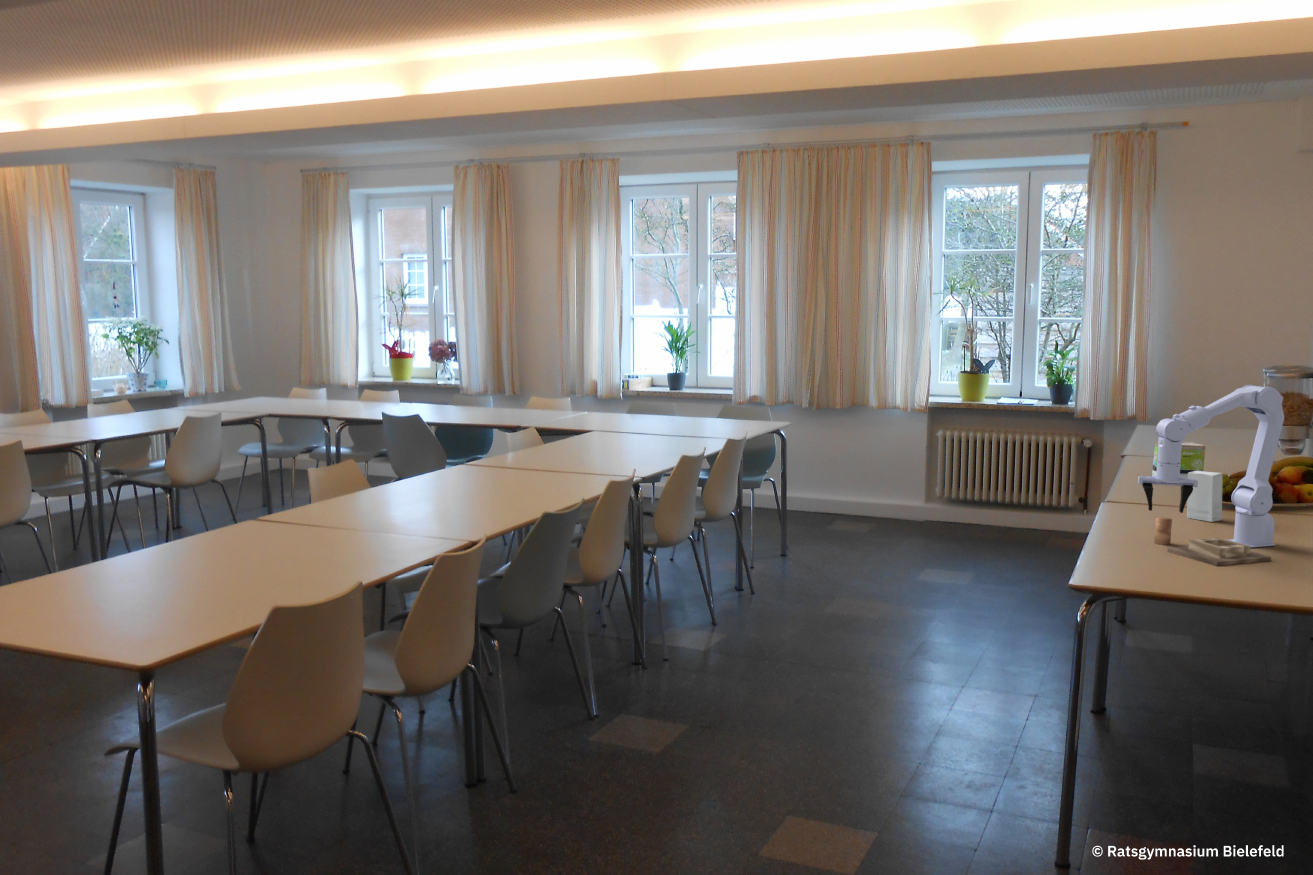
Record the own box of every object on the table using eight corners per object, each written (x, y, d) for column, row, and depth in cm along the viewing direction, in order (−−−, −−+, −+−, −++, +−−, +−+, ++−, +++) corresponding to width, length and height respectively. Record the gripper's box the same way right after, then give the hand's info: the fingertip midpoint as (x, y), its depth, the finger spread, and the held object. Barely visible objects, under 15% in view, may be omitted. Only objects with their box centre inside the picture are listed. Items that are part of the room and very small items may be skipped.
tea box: (1160, 482, 375) (1162, 443, 373) (1151, 478, 385) (1154, 440, 383) (1203, 484, 373) (1206, 444, 371) (1193, 479, 383) (1196, 441, 381)
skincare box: (1221, 520, 309) (1225, 473, 307) (1211, 522, 306) (1214, 474, 304) (1194, 515, 316) (1198, 469, 314) (1184, 517, 313) (1187, 471, 311)
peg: (1162, 541, 281) (1164, 516, 281) (1173, 544, 278) (1175, 519, 277) (1151, 542, 280) (1152, 517, 279) (1162, 545, 277) (1163, 520, 276)
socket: (1219, 546, 275) (1220, 534, 275) (1271, 560, 260) (1272, 547, 259) (1167, 551, 270) (1168, 538, 269) (1216, 565, 255) (1217, 552, 254)
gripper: (1196, 461, 276) (1192, 510, 278) (1138, 459, 281) (1135, 506, 283) (1200, 465, 269) (1196, 514, 271) (1140, 462, 274) (1137, 511, 276)
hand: (1165, 511), depth 276 cm, fingers open, 7 cm apart
